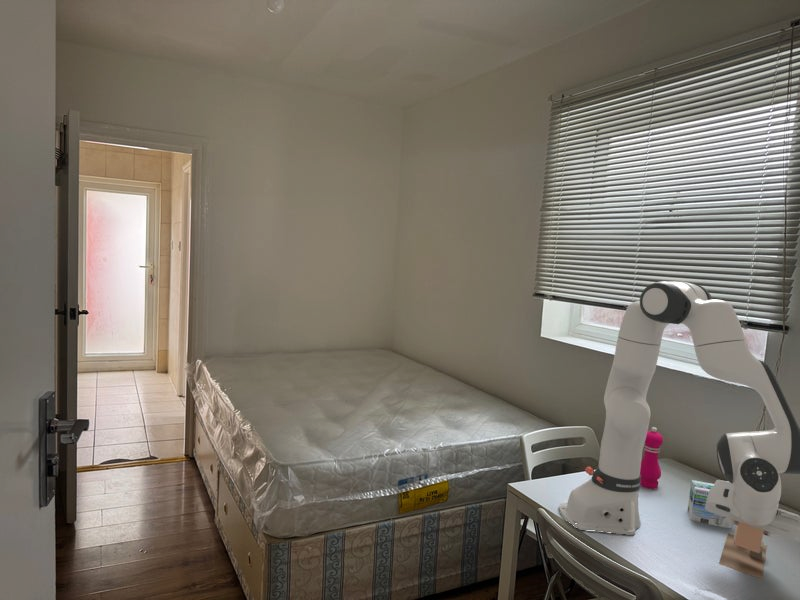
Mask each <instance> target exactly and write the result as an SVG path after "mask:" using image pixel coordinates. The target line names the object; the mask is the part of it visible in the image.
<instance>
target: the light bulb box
mask: <svg viewBox="0 0 800 600" xmlns="http://www.w3.org/2000/svg"><path fill="white" fill-rule="evenodd" d="M714 484H715V483H709V482H704V481H699V480H694V479H691V483H690V490H689V496H688V503H687V504H688V505H687V513H688V517H689V520H690V521H692V522H697V523H700V524H701V523H702V524H706V525H712V526H716V527H721V528H725V529H732V525H733V524H732V521H731V520H730V519H728V518H726V517H723V516H720V515H717V514H715V513H712V512H709V511H707V510H706V509H705V504H706V500H707V496H708V493H709V490H710V489H711V488H712V487H713V486H714Z"/></svg>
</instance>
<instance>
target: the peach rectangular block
mask: <svg viewBox="0 0 800 600" xmlns="http://www.w3.org/2000/svg"><path fill="white" fill-rule="evenodd" d="M763 532H764V530H761V529H758V528H756V527H753V526H750V525H747V524H744V523H741V522H739V524H738V529H737V535H736V540H735V545H737V546H740V547H743V548H746V549H748V550H751V551H754V552H757V553H760V548H761V542H762V541H763V537H764V534H763Z"/></svg>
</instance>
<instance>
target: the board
mask: <svg viewBox="0 0 800 600" xmlns="http://www.w3.org/2000/svg"><path fill="white" fill-rule="evenodd" d="M733 541H734V534H732V533H727V535H726V539H725V543H724V544H723V549H722V552H721V556H720V558H719V562H718V564H719V565H721V566H725V567H727V568H729V569H733V570H736V571H737V572H741V573H744V574H746V575H750V576H753V577H755V578H758V579H761V580H762V579H763V573H764V568H765V561H766V555H767V549H768V548H767V547H768V546H767V545H765V543H764V542H761V548H760V553H757V552H754V551H751V550H748V549H746V548H743V547H740V546H737V545H735V542H733Z"/></svg>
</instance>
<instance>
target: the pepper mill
mask: <svg viewBox="0 0 800 600" xmlns="http://www.w3.org/2000/svg"><path fill="white" fill-rule="evenodd" d="M657 431H658V428H657V427H655V426H652V427H651V429H650V430H648V431H647V435H646V439H645V443H644V446H643V450H644V454H643V456H642V460H641V468H640V475H641V484H640V487H643V488H646V489H650V490H656V489H658V487H659V481H658V480H659V479H661V477H662V469H661V467H660V464H659V453H660V452H661V446H662V445H663V443H664V437H663V435H662V434H660V433H659V432H657Z"/></svg>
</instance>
